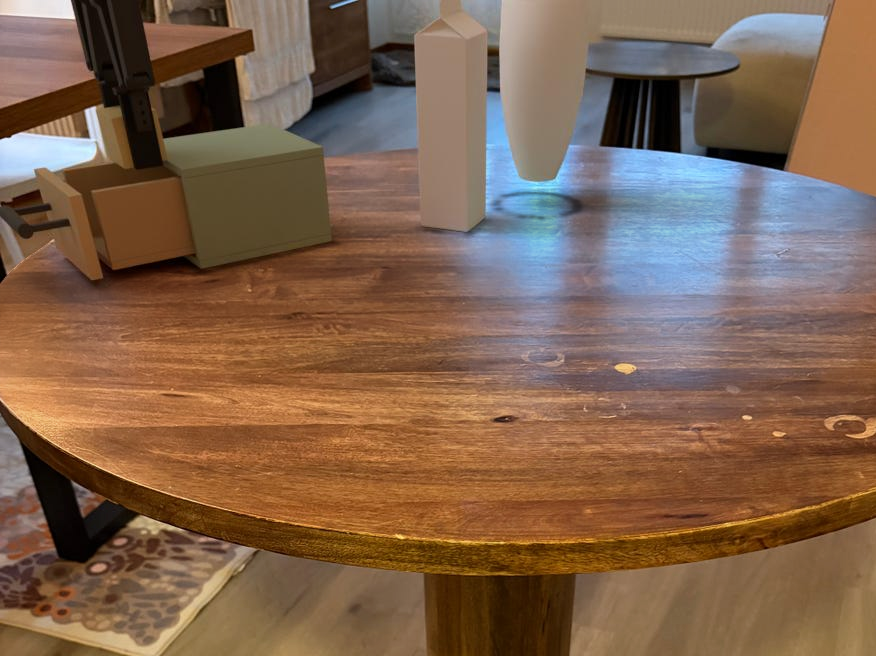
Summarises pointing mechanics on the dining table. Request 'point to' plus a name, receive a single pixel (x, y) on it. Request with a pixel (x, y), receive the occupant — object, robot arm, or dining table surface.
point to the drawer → (110, 215)
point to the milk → (451, 119)
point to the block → (122, 136)
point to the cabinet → (250, 192)
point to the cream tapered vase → (542, 80)
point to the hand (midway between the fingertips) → (139, 160)
